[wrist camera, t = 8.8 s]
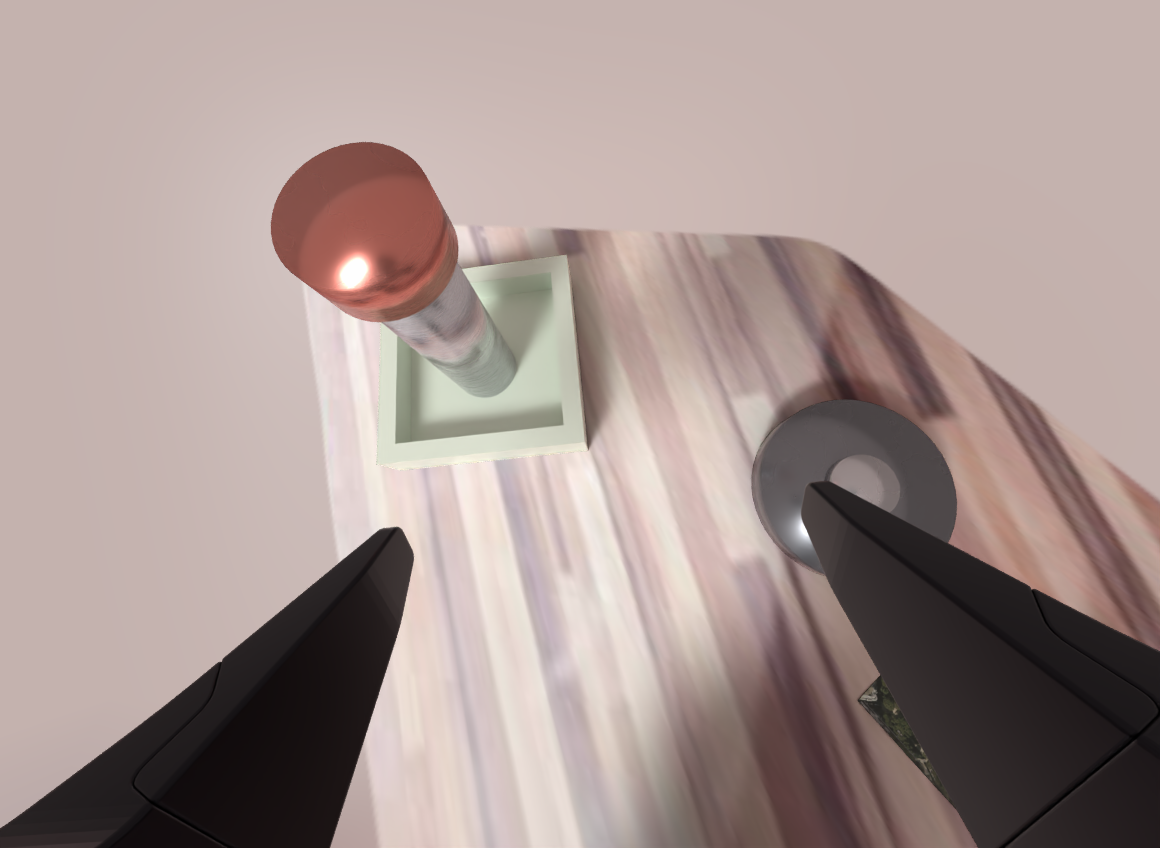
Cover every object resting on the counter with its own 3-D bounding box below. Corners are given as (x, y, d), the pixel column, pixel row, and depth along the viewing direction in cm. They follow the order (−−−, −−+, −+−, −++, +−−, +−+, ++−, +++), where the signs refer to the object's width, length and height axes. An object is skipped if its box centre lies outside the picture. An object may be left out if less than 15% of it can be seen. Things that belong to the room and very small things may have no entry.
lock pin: (538, 382, 24) (459, 238, 11) (467, 420, 24) (304, 318, 11) (503, 318, 25) (393, 116, 12) (434, 354, 24) (249, 189, 12)
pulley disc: (957, 572, 20) (999, 578, 18) (770, 588, 21) (788, 595, 19) (905, 398, 22) (937, 385, 20) (737, 417, 23) (750, 405, 21)
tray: (587, 450, 23) (584, 442, 21) (400, 470, 24) (376, 464, 22) (571, 279, 26) (566, 254, 24) (403, 302, 27) (381, 279, 24)
